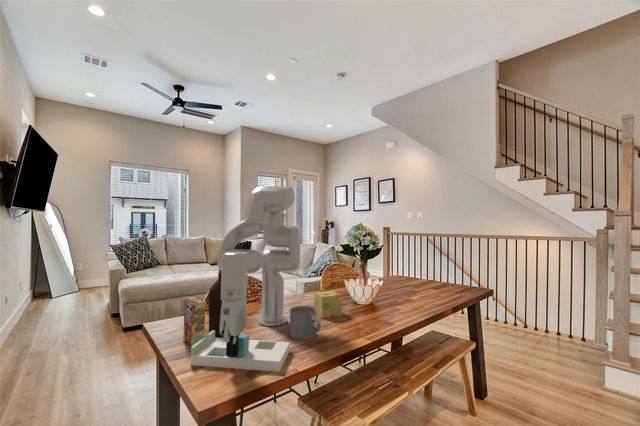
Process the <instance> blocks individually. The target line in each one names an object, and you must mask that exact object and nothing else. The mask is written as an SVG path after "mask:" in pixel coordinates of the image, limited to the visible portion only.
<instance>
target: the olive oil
mask: <svg viewBox="0 0 640 426" xmlns="http://www.w3.org/2000/svg"><path fill="white" fill-rule="evenodd" d="M221 272H222V271H221V270H220V269H219V268H218V274H217V275H218V276H217V277H218V278H217V280H216V281H215V282H214V283H213V284H212V286H211V287H210V288H209V290H208V293H207V301H208V303H207V304H208V305H207V307H208V334H209V333H210V332H211V331H212V330H214V331H215V338H223V337H224V335H223V336H222V335H221V334H220V315H221V306H222V300H221Z"/></svg>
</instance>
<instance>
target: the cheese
mask: <svg viewBox="0 0 640 426" xmlns="http://www.w3.org/2000/svg"><path fill="white" fill-rule="evenodd" d="M342 303H343V302H342V299H341V297H340V294H338V292H337V291H335V290H327V291H320V292H319V291H317V292H314V296H313V307H314V308H315V315H317V316H319V317H320V318H321V319H327V318H331V317H335V318H337V317H338V318H339V317H342V315H343V309H342Z"/></svg>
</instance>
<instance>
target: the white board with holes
mask: <svg viewBox="0 0 640 426" xmlns="http://www.w3.org/2000/svg"><path fill="white" fill-rule="evenodd" d="M290 347H291V342H290V341H288V342H287V341H274V340H273V341H272V340H261V339H260V340H259V339H256V340H255V339H249V351H248V352H247V353H246V354H245V355H244V356H237V357H227V356H226V342H223V337H215V331H214V330H212V331H211V332H210V333H209V332H208V333H207V334H206V335H204V337H203V338H202V339H201V340H199V341H198V342H197V343H196V344H194V345H193V346H190V366H196V367H197V366H199V367H210V368H211V367H212V368H223V369H226V368H227V369H238V370H251V371H262V372H263V371H264V372H277V373H280V372H281V370H282V368H283V366H284V363H285V361H286V360H287V358H288V356H289V354H290V350H291V348H290Z"/></svg>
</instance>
